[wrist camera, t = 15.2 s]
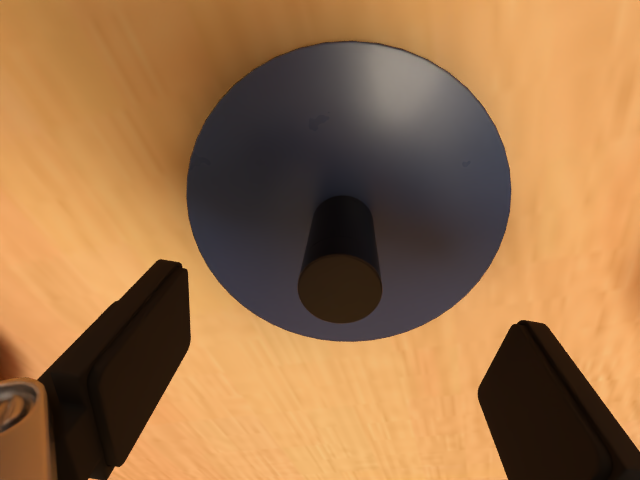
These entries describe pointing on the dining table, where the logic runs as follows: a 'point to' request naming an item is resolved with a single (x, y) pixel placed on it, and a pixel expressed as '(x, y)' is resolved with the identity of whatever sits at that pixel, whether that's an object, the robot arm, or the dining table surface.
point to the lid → (348, 191)
